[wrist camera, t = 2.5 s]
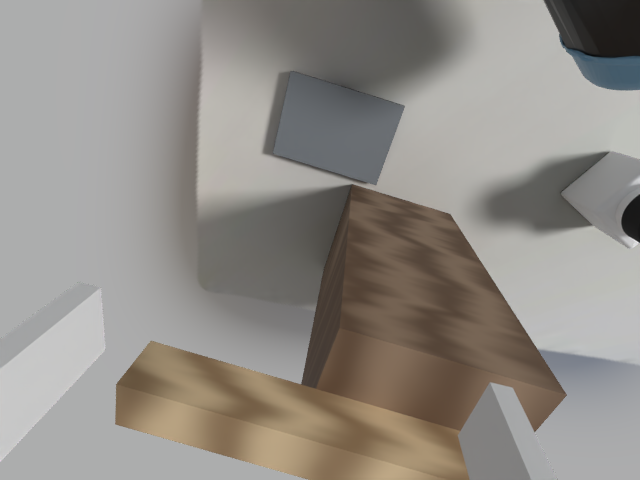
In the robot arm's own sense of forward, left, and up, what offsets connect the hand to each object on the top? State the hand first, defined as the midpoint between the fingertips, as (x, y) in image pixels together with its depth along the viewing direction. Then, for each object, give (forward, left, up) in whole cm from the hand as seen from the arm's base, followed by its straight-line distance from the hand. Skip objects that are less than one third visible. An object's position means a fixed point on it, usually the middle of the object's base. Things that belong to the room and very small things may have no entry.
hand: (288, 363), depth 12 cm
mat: (-3, 0, -37) cm, 38 cm away
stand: (+14, +3, -37) cm, 40 cm away
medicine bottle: (+12, +31, -38) cm, 50 cm away
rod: (+12, -1, -8) cm, 14 cm away
